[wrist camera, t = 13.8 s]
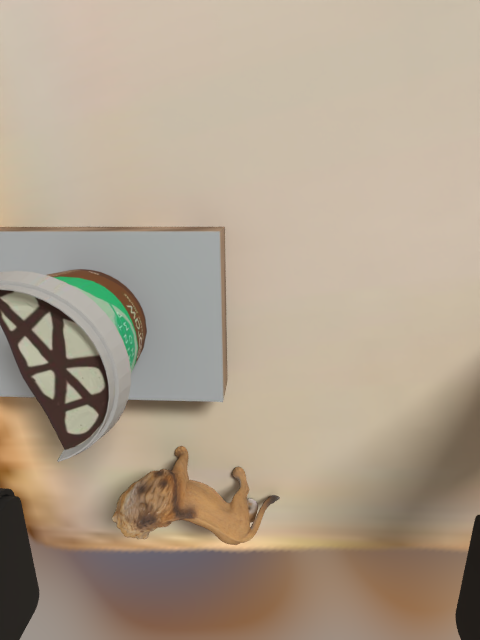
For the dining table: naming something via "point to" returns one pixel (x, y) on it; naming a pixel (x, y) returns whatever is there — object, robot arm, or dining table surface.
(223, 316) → the pedestal
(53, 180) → the dining table surface
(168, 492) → the lion figurine
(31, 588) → the robot arm
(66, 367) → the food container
